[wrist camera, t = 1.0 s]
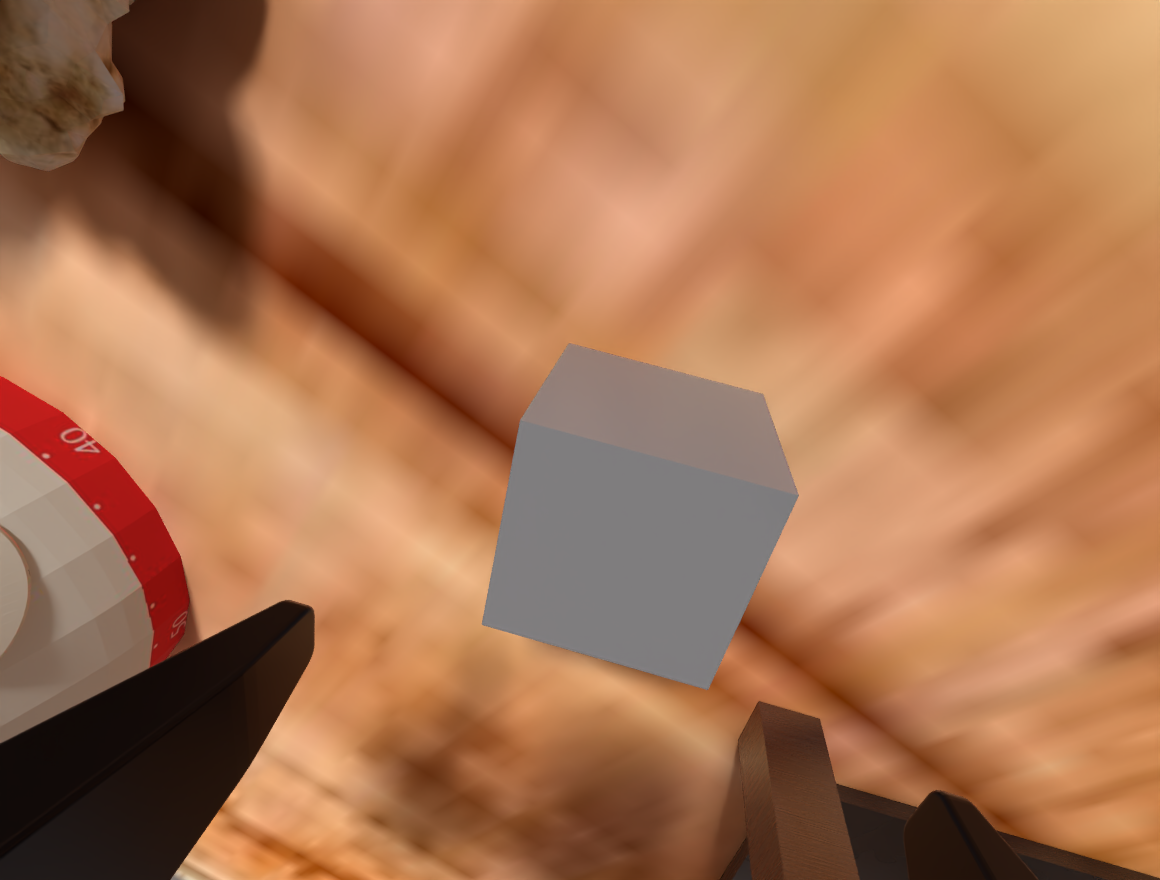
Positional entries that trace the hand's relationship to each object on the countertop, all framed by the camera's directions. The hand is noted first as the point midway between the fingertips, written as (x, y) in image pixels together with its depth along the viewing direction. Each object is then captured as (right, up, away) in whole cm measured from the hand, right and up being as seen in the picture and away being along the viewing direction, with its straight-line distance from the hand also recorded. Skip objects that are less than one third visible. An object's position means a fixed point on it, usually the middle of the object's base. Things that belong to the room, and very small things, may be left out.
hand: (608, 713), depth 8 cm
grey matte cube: (+1, +4, +7) cm, 8 cm away
